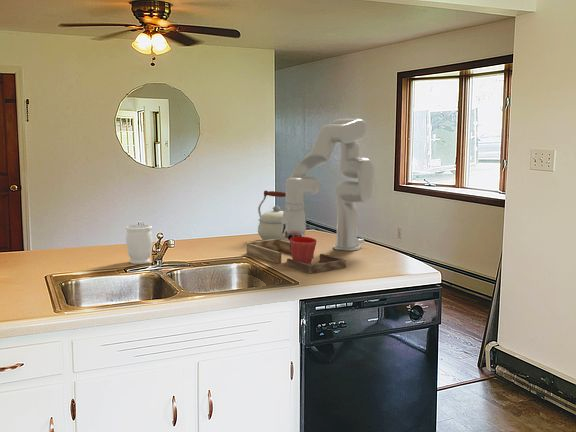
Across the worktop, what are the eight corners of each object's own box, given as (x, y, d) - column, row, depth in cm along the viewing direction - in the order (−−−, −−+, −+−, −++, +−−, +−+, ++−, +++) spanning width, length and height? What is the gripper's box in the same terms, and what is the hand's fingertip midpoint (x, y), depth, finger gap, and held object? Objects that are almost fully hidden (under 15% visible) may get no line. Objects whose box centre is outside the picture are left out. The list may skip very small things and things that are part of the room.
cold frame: (279, 249, 274) (279, 238, 274) (313, 258, 255) (313, 246, 254) (246, 253, 263) (246, 242, 263) (279, 263, 244) (279, 251, 243)
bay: (321, 260, 250) (321, 253, 250) (346, 267, 238) (346, 260, 238) (286, 266, 239) (286, 258, 239) (310, 273, 227) (310, 265, 227)
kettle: (247, 241, 293) (247, 191, 289) (269, 236, 308) (269, 188, 304) (289, 247, 279) (289, 194, 275) (310, 241, 294) (310, 191, 290)
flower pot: (312, 267, 240) (314, 243, 238) (286, 264, 242) (287, 241, 240) (317, 260, 250) (318, 237, 248) (291, 257, 252) (293, 235, 250)
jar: (157, 260, 247) (157, 225, 245) (144, 265, 238) (143, 229, 235) (135, 258, 251) (134, 223, 248) (121, 263, 241) (120, 227, 239)
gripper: (303, 205, 255) (302, 247, 257) (274, 207, 246) (274, 250, 249) (314, 207, 249) (313, 250, 251) (285, 209, 240) (284, 253, 243)
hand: (293, 250), depth 250 cm, fingers closed
